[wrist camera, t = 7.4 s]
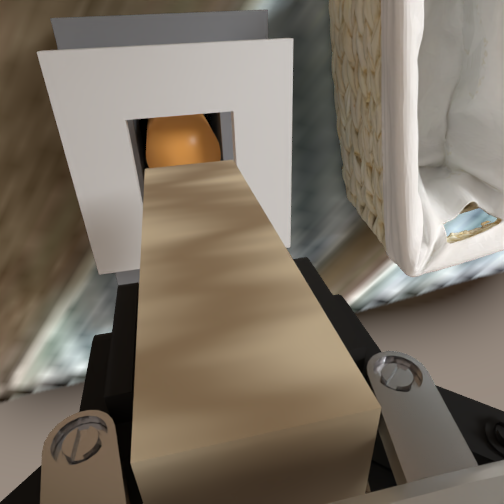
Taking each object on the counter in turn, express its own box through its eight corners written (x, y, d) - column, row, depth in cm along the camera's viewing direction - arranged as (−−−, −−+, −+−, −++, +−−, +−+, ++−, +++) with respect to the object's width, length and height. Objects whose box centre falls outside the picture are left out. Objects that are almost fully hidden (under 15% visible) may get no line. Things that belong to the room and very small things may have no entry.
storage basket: (465, 174, 46) (582, 231, 33) (333, 214, 45) (404, 288, 32) (486, -90, 33) (688, -158, 21) (304, -45, 32) (401, -88, 20)
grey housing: (70, 19, 31) (15, 16, 18) (246, 12, 33) (303, 5, 21) (133, 291, 44) (126, 395, 32) (256, 272, 46) (294, 363, 34)
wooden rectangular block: (233, 159, 18) (381, 407, 6) (237, 235, 20) (357, 531, 8) (144, 168, 18) (130, 463, 6) (158, 246, 20) (169, 583, 8)
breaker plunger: (142, 99, 31) (139, 121, 24) (203, 94, 32) (217, 114, 25) (152, 159, 33) (152, 194, 27) (209, 154, 34) (223, 186, 27)
